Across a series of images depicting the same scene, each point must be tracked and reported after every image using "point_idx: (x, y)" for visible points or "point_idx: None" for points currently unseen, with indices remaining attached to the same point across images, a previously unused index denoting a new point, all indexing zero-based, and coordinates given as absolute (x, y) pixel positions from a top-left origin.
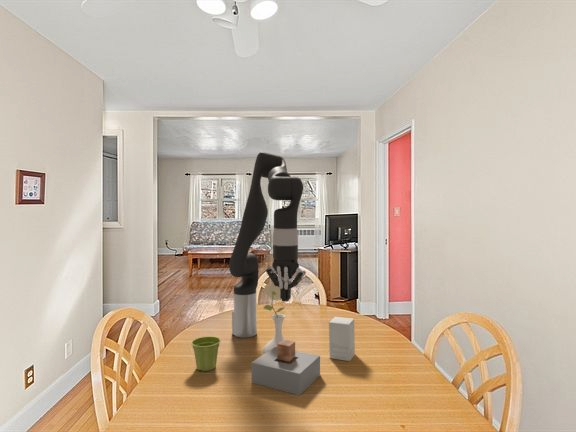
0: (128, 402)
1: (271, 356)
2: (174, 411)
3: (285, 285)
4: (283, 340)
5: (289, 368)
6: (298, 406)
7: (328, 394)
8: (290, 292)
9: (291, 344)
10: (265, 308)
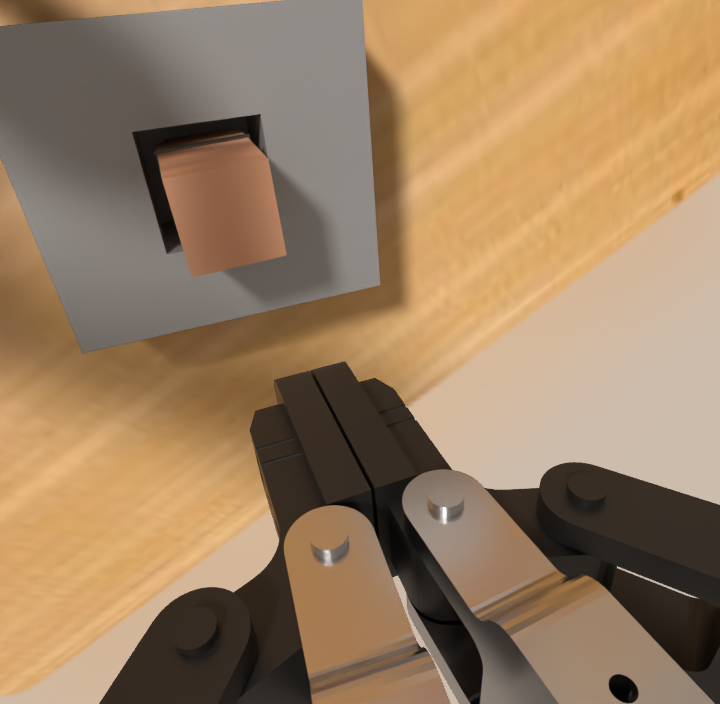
0: None
1: (102, 214)
2: (67, 581)
3: (450, 639)
4: (177, 195)
5: (308, 274)
6: (381, 310)
7: (439, 168)
8: (429, 447)
9: (279, 220)
10: None
